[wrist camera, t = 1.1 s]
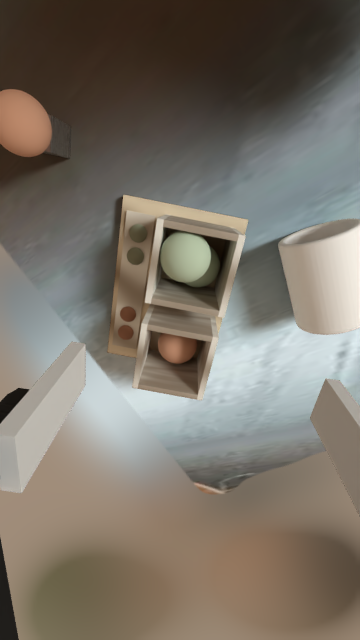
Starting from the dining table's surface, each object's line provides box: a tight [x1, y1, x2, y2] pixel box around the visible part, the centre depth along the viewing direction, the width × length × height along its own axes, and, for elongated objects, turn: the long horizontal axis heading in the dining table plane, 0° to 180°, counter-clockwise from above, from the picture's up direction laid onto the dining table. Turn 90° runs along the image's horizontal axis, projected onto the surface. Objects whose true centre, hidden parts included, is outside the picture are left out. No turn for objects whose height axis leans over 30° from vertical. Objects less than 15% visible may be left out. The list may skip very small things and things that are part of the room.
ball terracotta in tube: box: [158, 333, 197, 364], centre depth 36 cm, size 5×5×5 cm
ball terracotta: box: [0, 89, 52, 157], centre depth 25 cm, size 5×5×5 cm
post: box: [43, 114, 71, 159], centre depth 29 cm, size 3×3×5 cm
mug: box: [278, 219, 360, 335], centre depth 31 cm, size 12×10×8 cm
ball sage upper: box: [160, 231, 211, 282], centre depth 27 cm, size 5×5×5 cm
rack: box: [107, 195, 248, 400], centre depth 33 cm, size 20×14×9 cm
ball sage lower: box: [184, 246, 220, 287], centre depth 32 cm, size 5×5×5 cm
